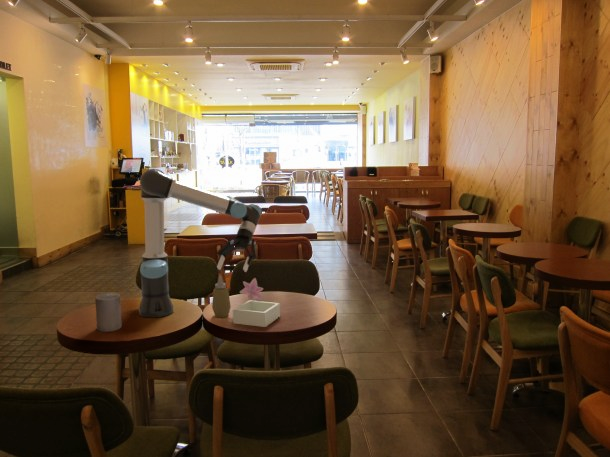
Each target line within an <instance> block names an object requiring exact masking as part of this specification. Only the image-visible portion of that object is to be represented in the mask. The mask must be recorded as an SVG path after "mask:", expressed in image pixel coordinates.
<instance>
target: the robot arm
mask: <svg viewBox="0 0 610 457" xmlns="http://www.w3.org/2000/svg"><path fill="white" fill-rule="evenodd" d="M139 186H140V197H141V199H142V201H143V202H144V230H145V231H144V233H145V235H144V236H145V237H144V238H145V247H144V248H145V252H144V253H143V254H142V255H141V258H142V259H141V260H142V262H141V264H140V268H139V269H140V270H139V271H140V280H141V281H140V283H141V300H140V304H139V308H138V315H139V317H143V318H159V317H165V316H169V315H171V314H173V313H174V310H175V309H174V305H173V303H172V300H171V297H170V293H169V291H170V290H169V289H170V288H169V259H168V258H169V257H168V256H169V255H168V254H167V252H165V211H164V210H165V204H164V203H165V201H166V200H168V199H170V198H172V199H176V200H178V201H181V202H186V203H189V204H191V205H195V206H197V207H202V208H205V209H207V210H211V211H215V212H216V213H217V212H218V213H221V214H224V215H227V216H229V217H233V218H234V219H240V220H241V223H240V225H239V227H238V230H237V233H236V236H235V239H232V238H231V237H230V238H228V240H227V241H226V243H225V244H224V245H223V246H222V247H221V248H220V249H219V250H218V251H217V252H216V253H217V255H218V259H217V262H218V263H217V265H216V268H217V269H218V270H219V271H221V269H222V267H223V265H224V262H225V260H226V257H227V256H228V255H230V254H231V253H232V252H234V251H236V250H244V249H245V250H246V253H247V255H248V256H246V259H245V263H244V264H243V267H242V270H243V271H244V273H247V271H248V269H249V266H251V264H252V262H253V260H257V259H258V255H257V248H256V245H257V242H256V241H255V239H253V237H254V234H255V232H256V228H257V226H258V223H259V221H260V219H261V216H262V212H263V210H262V208H261V207H260V206H259V205H258V204H255V203H249V205H247V204H245V203H243V202H242V201H240V200H238V199H236V198H235V197H232V196H231V195H226V196H223V195H220V194H217V193H214V192H210V191H208V190H205V189H201V188H199V187H195V186H192V185H189V184H186V183H182V182H181V181H177V180H176V179H175V178H174V177H171V176H169V175H167V174H165V172H164V171H162V170H160V169H158V168H149V169H147V170H145V171H144V172H143V173H142V175H141V176H140V178H139ZM249 246H251V251H250V249H249ZM251 252H252V253H251Z"/></svg>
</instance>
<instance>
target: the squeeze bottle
mask: <svg viewBox="0 0 610 457" xmlns="http://www.w3.org/2000/svg"><path fill="white" fill-rule="evenodd" d="M214 286H215V287H214V289H213V291H212V303H211V304H212V306H211V308H212V311H213V313H214V316H215V317H216V318H223V317H224V318H225V317H228V316H229V314H230V310H231V307H232V306H231V300H230V291H229V289H228V288H227V283H226V282H224V280H223V277H222V275H218V279H217V283H215V285H214Z"/></svg>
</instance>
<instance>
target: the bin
mask: <svg viewBox="0 0 610 457" xmlns="http://www.w3.org/2000/svg"><path fill="white" fill-rule="evenodd" d="M278 317H279V318H280V317H281V303H279V302H270V301H263V300H253V299H252V300H249V299H248V300H247V301H246V302H243V303H242V304H240V305H238V306H236V307H234V308H233V309H232V323H233V324H236V325H237V324H238V325H245V326H246V325H247V326H253V327H255V326H256V327H263V328H265V327H268V326H269V325H270V324H272V323H273V322H274V321H277V319H279V318H278Z"/></svg>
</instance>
